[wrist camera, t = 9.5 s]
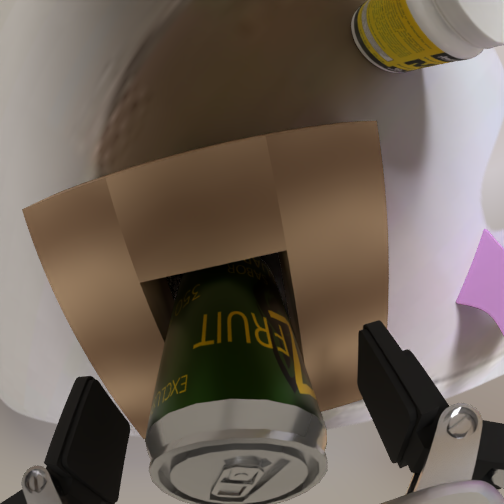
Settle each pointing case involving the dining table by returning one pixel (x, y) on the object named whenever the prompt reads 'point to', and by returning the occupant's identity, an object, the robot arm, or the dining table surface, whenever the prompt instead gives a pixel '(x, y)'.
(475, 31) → the supplement bottle
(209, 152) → the holder block
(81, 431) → the robot arm
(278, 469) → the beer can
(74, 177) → the dining table surface
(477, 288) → the toy chair
